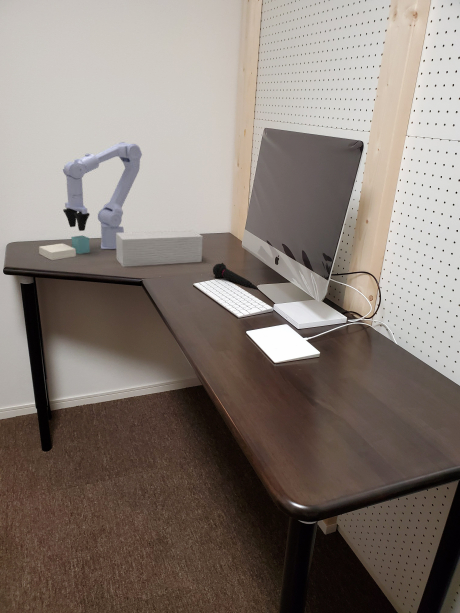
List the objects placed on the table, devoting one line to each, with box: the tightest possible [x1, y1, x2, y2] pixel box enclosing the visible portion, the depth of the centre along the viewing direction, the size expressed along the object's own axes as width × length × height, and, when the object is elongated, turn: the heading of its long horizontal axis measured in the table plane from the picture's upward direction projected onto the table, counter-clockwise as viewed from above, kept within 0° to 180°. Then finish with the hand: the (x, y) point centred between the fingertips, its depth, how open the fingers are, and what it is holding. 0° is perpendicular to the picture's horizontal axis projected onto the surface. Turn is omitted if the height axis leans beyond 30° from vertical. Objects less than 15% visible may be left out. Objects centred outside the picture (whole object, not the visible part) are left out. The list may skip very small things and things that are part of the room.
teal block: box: [71, 235, 91, 255], centre depth 187 cm, size 5×5×6 cm
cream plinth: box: [38, 242, 77, 261], centre depth 181 cm, size 10×10×3 cm
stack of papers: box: [115, 229, 204, 268], centre depth 183 cm, size 32×11×11 cm, turn 115°
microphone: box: [212, 263, 259, 290], centre depth 165 cm, size 6×6×20 cm
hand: (77, 228), depth 185 cm, fingers open, 7 cm apart
